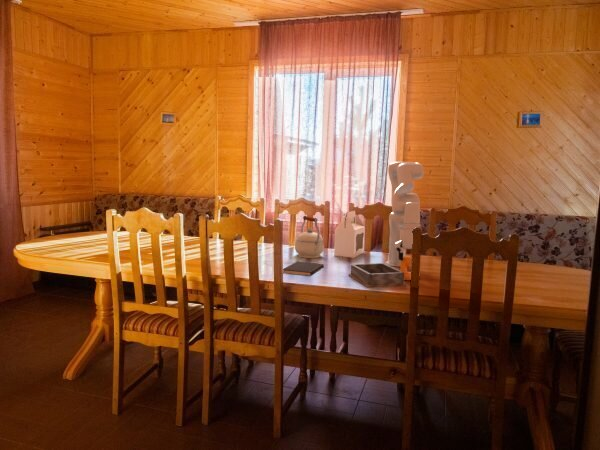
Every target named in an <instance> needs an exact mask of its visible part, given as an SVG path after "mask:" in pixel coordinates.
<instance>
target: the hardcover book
mask: <svg viewBox="0 0 600 450" xmlns="http://www.w3.org/2000/svg"><path fill="white" fill-rule="evenodd" d="M324 267H325V264H324V263H317V262H308V261H307V262H306V261H295V262H294V263H292V264H290V265H288V266H286V267H284V268H282V269H283V270H282V272H283V273H284V274H294V275H302V276H312V275H314V274H315V273H317V272H319V271H321V270H322V269H323V268H324ZM321 268H322V269H321Z"/></svg>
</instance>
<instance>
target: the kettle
mask: <svg viewBox="0 0 600 450" xmlns="http://www.w3.org/2000/svg"><path fill="white" fill-rule="evenodd" d="M302 219H303V222H302V224H301V227H300V233H299V234H298V235H297V237H295V240H296V241H295V244H294V249H295V252H296V254H297V256H298V257H299V258H304V259H315V258H316V259H317V258H320V257H321V255H322V253H323V252H324V250H325V244H324V242H323V241H325V240H324V238H323V237H322V235H321V234H320V229H319V227H318V218H316V217H312V216H307V215H303V217H302ZM306 221H309V222H314V226H315V228H316V232H313V231H314V230H313V228H311V227H309V228H307V229H306V231H304V226H305V224H306Z"/></svg>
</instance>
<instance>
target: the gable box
mask: <svg viewBox="0 0 600 450" xmlns="http://www.w3.org/2000/svg"><path fill="white" fill-rule="evenodd" d="M343 215H344V217H343V218H342V219H341V220H340V222H339V223H338V224H337V226H336V227H335V229H334V249H333V250H334V251H333V254H334V255H333V256H335V257H342V256H343V257H344V258H356V257H358V256H360V255H361V254H363V253H365V238H366V237H365V234H366V230H365V229H366V225H364V223H363V221H362V220H361V219H360V217H359V216H358V214H356V210H351V211H347V212H346V213H344V214H343ZM343 257H342V258H343Z"/></svg>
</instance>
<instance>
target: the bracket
mask: <svg viewBox="0 0 600 450" xmlns="http://www.w3.org/2000/svg"><path fill="white" fill-rule="evenodd" d="M411 259H413V256H411V255H405V256H403V261H401V266H400V267H399V270H400V271H402V272H404V281H410V273H411V272H412V271H408V268H411V267H412V264H411Z"/></svg>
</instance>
